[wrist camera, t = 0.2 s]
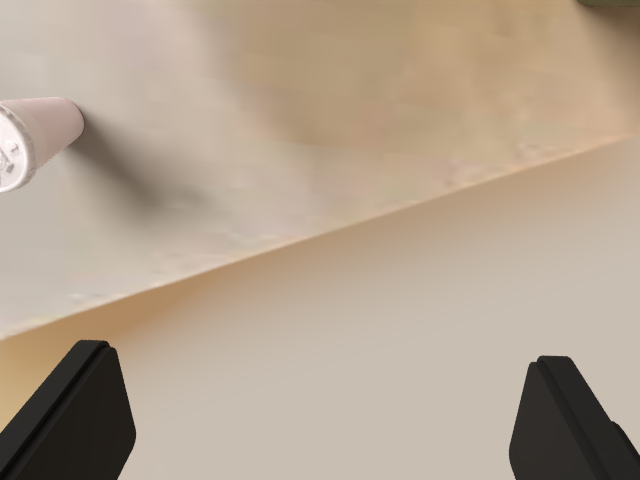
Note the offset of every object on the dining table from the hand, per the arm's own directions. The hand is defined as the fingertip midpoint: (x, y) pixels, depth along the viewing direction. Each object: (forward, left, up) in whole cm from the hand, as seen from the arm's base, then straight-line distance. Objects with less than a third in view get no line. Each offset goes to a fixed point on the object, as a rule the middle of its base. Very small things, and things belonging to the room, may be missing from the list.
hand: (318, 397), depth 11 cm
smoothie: (+1, -24, -31) cm, 39 cm away
